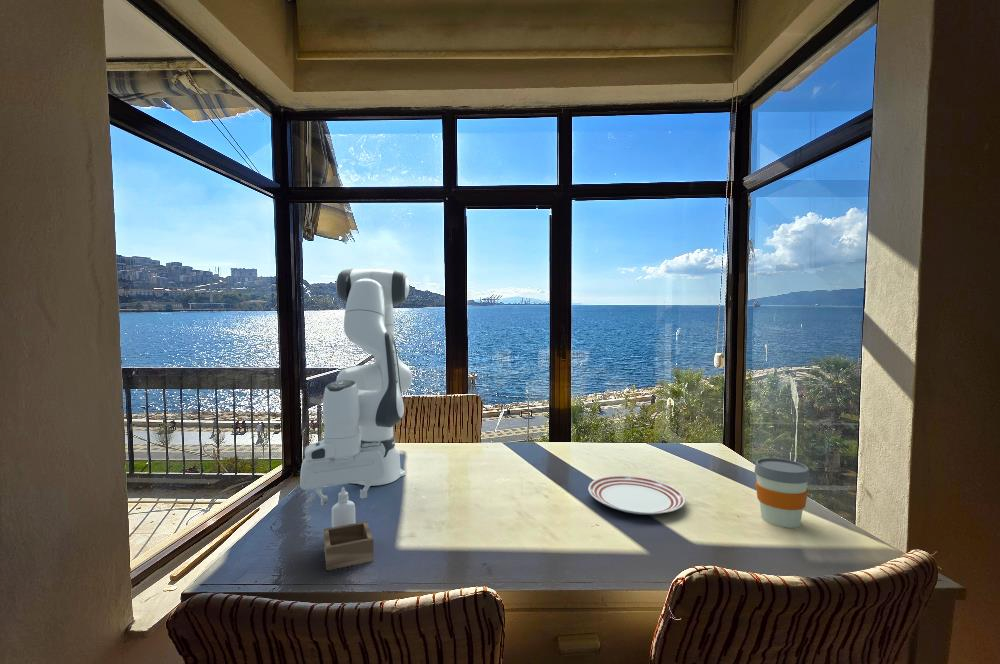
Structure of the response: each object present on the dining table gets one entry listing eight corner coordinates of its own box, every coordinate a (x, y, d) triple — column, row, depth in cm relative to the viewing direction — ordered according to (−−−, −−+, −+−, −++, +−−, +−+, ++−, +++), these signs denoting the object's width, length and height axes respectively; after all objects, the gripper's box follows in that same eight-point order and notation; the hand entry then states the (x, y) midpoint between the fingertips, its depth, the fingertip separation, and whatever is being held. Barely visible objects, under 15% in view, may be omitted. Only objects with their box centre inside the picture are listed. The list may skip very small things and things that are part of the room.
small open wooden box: (324, 549, 110) (323, 529, 110) (367, 541, 114) (367, 521, 114) (326, 571, 101) (326, 548, 100) (373, 560, 105) (373, 539, 104)
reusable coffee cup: (790, 535, 115) (791, 476, 115) (743, 515, 126) (744, 461, 126) (818, 524, 121) (820, 467, 121) (771, 506, 132) (772, 454, 132)
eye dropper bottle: (334, 531, 119) (333, 485, 118) (356, 529, 120) (355, 484, 119) (330, 539, 115) (329, 492, 114) (354, 537, 116) (353, 490, 115)
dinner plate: (687, 492, 143) (687, 482, 143) (682, 530, 119) (682, 518, 119) (599, 479, 155) (599, 470, 155) (577, 511, 130) (577, 500, 130)
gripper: (382, 438, 123) (383, 489, 123) (298, 448, 115) (300, 503, 115) (386, 443, 117) (388, 497, 118) (299, 454, 109) (301, 512, 109)
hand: (344, 500), depth 116 cm, fingers open, 8 cm apart
